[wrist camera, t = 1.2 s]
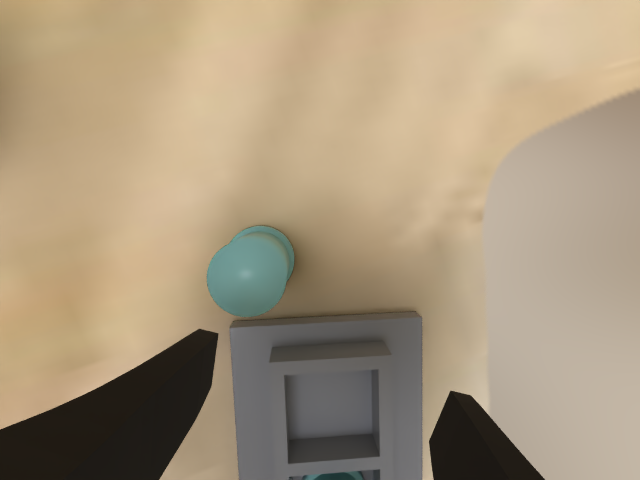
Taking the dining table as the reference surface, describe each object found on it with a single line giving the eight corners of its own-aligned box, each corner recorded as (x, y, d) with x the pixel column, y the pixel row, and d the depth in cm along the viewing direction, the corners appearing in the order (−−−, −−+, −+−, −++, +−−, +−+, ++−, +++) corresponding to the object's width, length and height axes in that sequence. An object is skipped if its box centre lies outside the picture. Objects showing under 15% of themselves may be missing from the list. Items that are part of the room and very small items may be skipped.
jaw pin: (229, 292, 21) (203, 325, 15) (225, 226, 21) (196, 235, 15) (295, 289, 22) (294, 320, 16) (292, 224, 21) (290, 231, 15)
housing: (247, 544, 23) (238, 597, 20) (233, 321, 21) (222, 341, 18) (416, 528, 24) (434, 577, 21) (415, 311, 22) (435, 329, 19)
